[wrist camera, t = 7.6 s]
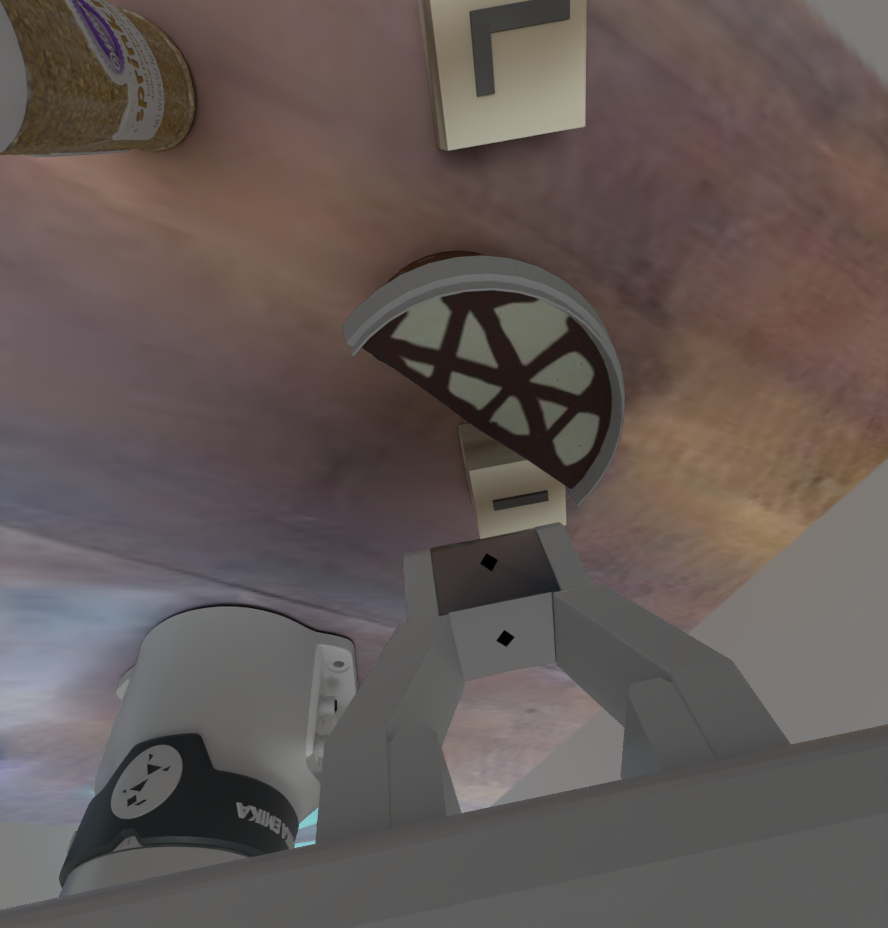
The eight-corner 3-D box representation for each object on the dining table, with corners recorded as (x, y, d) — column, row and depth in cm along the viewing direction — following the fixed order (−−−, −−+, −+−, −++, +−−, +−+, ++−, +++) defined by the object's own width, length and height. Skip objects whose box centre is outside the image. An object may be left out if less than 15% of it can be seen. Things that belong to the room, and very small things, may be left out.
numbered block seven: (552, 127, 22) (592, 125, 18) (436, 148, 22) (448, 150, 18) (548, -27, 19) (596, -75, 15) (416, -3, 19) (425, -45, 15)
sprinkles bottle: (222, 103, 20) (24, 64, 9) (147, 176, 21) (-113, 220, 10) (123, -26, 18) (-303, -289, 7) (45, 63, 19) (-433, -38, 8)
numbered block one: (546, 475, 33) (570, 526, 28) (468, 489, 33) (481, 543, 28) (542, 408, 30) (569, 454, 25) (457, 424, 30) (469, 473, 25)
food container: (607, 324, 27) (704, 407, 19) (529, 406, 30) (586, 512, 21) (429, 159, 22) (457, 174, 14) (353, 274, 24) (337, 345, 16)
